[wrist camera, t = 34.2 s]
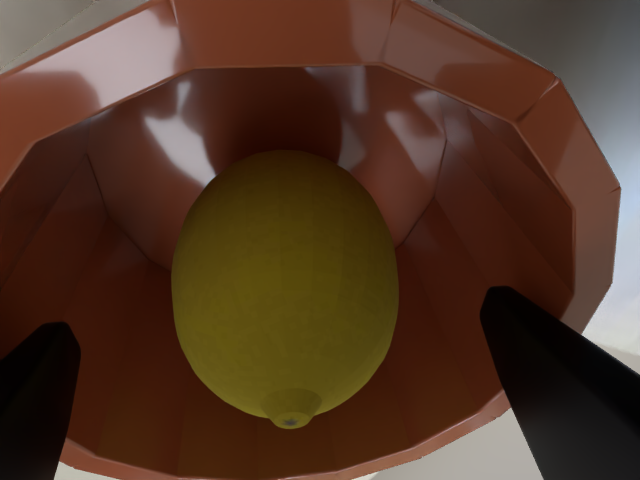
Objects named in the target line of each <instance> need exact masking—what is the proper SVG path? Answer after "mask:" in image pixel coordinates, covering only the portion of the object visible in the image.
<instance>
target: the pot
mask: <svg viewBox="0 0 640 480" xmlns="http://www.w3.org/2000/svg"><path fill="white" fill-rule="evenodd" d="M274 150H296V151H303V152H307V153H310V154H314V155H317V156H321V157H324V158H327V159H328V160H330V161H332V162H333V163H335V164H337V165H339V166H340V167H342V168H344V169H345V170H347V171H348V172H349V173H350V174H351V175H352V176H353V177H354V178H355V179H356V180H357V181H358V182H359V183H360V184H361V185H362V186H363V187H364V188H365V189H366V190H367V191H368V192H369V193H370V194H371V196H372V198H373V199H374V201H375V202H376V204H377V206H378V208H379V210H380V212H381V214H382V216H383V218H384V220H385V222H386V224H387V226H388V228H389V231H390V234H391V237H392V240H393V244H394V249H395V256H396V264H397V272H398V282H399V305H398V314H397V320H396V324H395V328H394V332H393V336H392V340H391V344H390V347H389V349H388V351H387V354H386V356H385V358H384V360H383V361H382V363H381V364H380V365H379V367H378V368H377V370H376V371H375V373H374V374H373V375H372V377H371V378H370V380H369V381H368V382H367V383H366V384H365V385H364V386H363V387H362V388H361V389H360V390H359V391H357V392H356V393H355V394H354V395H353V396H351V397H350V398H349V399H347V400H346V401H344V402H343V403H341V404H340V405H338V406H336V407H334V408H333V409H331V410H329V411H326V412H323V413H320V414H318V415H314V416H313V417H312V419H311V420H310V421H309V423H307V424H306V425H305V426H302V427H300V428H294V429H285V428H280V427H278V426H276V425H275V424H274V423H273V422H272V421H271V420H270V419H269V418H264V417H258V416H255V415H252V414H249V413H246V412H244V411H242V410H240V409H238V408H236V407H234V406H232V405H230V404H229V403H227V402H225V401H224V400H222V399H221V398H220V397H218V396H217V395H216V394H215V393H214V392H212V391H211V390H210V389H209V388H208V387H207V386H206V385H205V384H204V383H203V382H202V381H201V380H200V378H199V377H198V376H197V375H196V374H195V372H194V370H193V369H192V367H191V365H190V363H189V361H188V359H187V358H186V356H185V354H184V352H183V350H182V348H181V345H180V342H179V339H178V336H177V332H176V327H175V322H174V312H173V301H172V287H171V273H172V262H173V256H174V251H175V248H176V244H177V241H178V238H179V235H180V231H181V228H182V225H183V222H184V220H185V217H186V215H187V213H188V211H189V209H190V207H191V206H192V204H193V203H194V202H195V200H196V199H197V197H198V196H199V195H200V193H201V192H202V191H203V189H204V188H205V187H206V185H207V184H208V183H209V182H210V181H211V180H212V179H213V178H214V177H216V176H217V175H218V174H219V173H221V172H222V171H223V170H225V169H226V168H227V167H229V166H230V165H231V164H232V163H234V162H237V161H239V160H242V159H244V158H246V157H249V156H251V155H254V154H256V153H262V152H268V151H274ZM620 196H621V187H620V184H619V181H618V179H617V178H616V176H615V174H614V172H613V171H612V169H611V167H610V165H609V164H608V162H607V160H606V158H605V156H604V155H603V153H602V151H601V149H600V148H599V146H598V144H597V142H596V140H595V139H594V137H593V135H592V133H591V132H590V130H589V128H588V126H587V125H586V123H585V121H584V119H583V117H582V116H581V114H580V112H579V110H578V109H577V107H576V105H575V103H574V102H573V100H572V98H571V96H570V94H569V93H568V91H567V89H566V87H565V86H564V84H563V82H562V80H561V79H560V78H559V77H557V76H555V75H554V73H553V72H552V71H550V70H549V69H547V68H545V67H544V66H542V65H540V64H538V63H537V62H535V61H533V60H532V59H530V58H528V57H526V56H525V55H523V54H521V53H520V52H518V51H516V50H515V49H513V48H511V47H509V46H508V45H506V44H504V43H503V42H501V41H499V40H497V39H496V38H494V37H492V36H491V35H489V34H487V33H485V32H484V31H482V30H480V29H479V28H477V27H475V26H473V25H472V24H470V23H468V22H467V21H465V20H463V19H462V18H460V17H458V16H456V15H455V14H453V13H451V12H450V11H448V10H446V9H444V8H443V7H441V6H439V5H438V4H436V3H434V2H432V1H431V0H97V1H96V2H94V3H93V4H91V5H90V6H89V7H87V8H86V9H84V10H83V11H81V12H80V13H79V14H77V15H76V16H74V17H73V18H72V19H70V20H69V21H67V22H66V23H64V24H63V25H62V26H60V27H59V28H57V29H56V30H55V31H53V32H52V33H50V34H49V35H48V36H46V37H45V38H43V39H42V40H40V41H39V42H38V43H36V44H35V45H33V46H32V47H31V48H29V49H28V50H26V51H25V52H23V53H22V54H21V55H19V56H18V57H16V58H15V59H14V60H12V61H11V62H9V63H8V64H6V65H5V66H4V67H2V68H1V69H0V361H1V360H2V359H3V358H4V357H5V356H7V355H8V354H9V353H10V352H11V351H12V350H13V349H14V348H16V347H17V346H18V345H19V344H20V343H21V342H22V341H23V340H24V339H26V338H27V337H28V336H29V335H30V334H31V333H32V332H33V331H35V330H36V329H37V328H38V327H39V326H40V325H42V324H44V323H48V322H59V321H64V322H66V323H68V324H69V326H70V328H71V330H72V331H73V333H74V335H75V337H76V339H77V341H78V343H79V345H80V348H81V360H80V366H79V372H78V377H77V383H76V389H75V395H74V401H73V406H72V412H71V418H70V423H69V428H68V432H67V435H66V439H65V443H64V446H63V449H62V453H61V456H60V460H59V461H60V462H62V463H64V464H66V465H68V466H70V467H73V468H74V469H78V470H82V471H86V472H90V473H94V474H99V475H103V476H107V477H111V478H116V479H120V480H351V479H355V478H358V477H361V476H365V475H368V474H371V473H374V472H378V471H381V470H384V469H388V468H391V467H394V466H397V465H401V464H404V463H407V462H411V461H413V460H417V459H420V458H422V456H425V455H427V454H430V453H431V452H433V451H435V450H437V449H439V448H441V447H443V446H445V445H447V444H449V443H451V442H453V441H455V440H456V439H458V438H460V437H462V436H464V435H466V434H468V433H470V432H472V431H474V430H476V429H477V428H480V427H481V426H483V425H485V424H487V423H489V422H491V421H493V420H495V419H496V417H500V416H501V415H502V414H503V413H505V412H506V411H507V410H508V409H509V408H511V405H510V403H509V401H508V399H507V396H506V394H505V392H504V390H503V387H502V385H501V382H500V380H499V377H498V374H497V371H496V368H495V365H494V362H493V359H492V356H491V353H490V350H489V347H488V344H487V340H486V337H485V334H484V331H483V328H482V325H481V322H480V316H479V314H480V309H481V306H482V303H483V301H484V298H485V295H486V292H487V290H488V289H489V288H490V287H492V286H501V285H507V286H510V287H512V288H513V289H515V290H516V291H518V292H519V293H521V294H522V295H523V296H525V297H526V298H528V299H529V300H531V301H532V302H534V303H535V304H537V305H538V306H540V307H541V308H543V309H544V310H545V311H547V312H548V313H550V314H551V315H553V316H554V317H556V318H557V319H559V320H560V321H562V322H563V323H565V324H566V325H567V326H569V327H570V328H572V329H573V330H575V331H576V332H578V333H579V334H582V333H583V331H584V329H585V328H586V326H587V325H588V323H589V321H590V320H591V318H592V316H593V315H594V313H595V312H596V310H597V308H598V307H599V305H600V303H601V302H602V300H603V299H604V297H605V295H606V294H607V292H608V290H609V289H610V287H611V284H612V283H613V272H614V261H615V251H616V240H617V229H618V218H619V207H620Z"/></svg>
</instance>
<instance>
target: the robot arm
mask: <svg viewBox="0 0 640 480" xmlns="http://www.w3.org/2000/svg"><path fill="white" fill-rule="evenodd" d="M479 316H480V322H481V325H482V328H483V331H484V334H485V337H486V340H487V344H488V347H489V350H490V353H491V356H492V359H493V362H494V365H495V368H496V371H497V374H498V377H499V380H500V382H501V385H502V387H503V390H504V392H505V394H506V396H507V399H508V401H509V403H510V405H511V408H512V410H513V412H514V414H515V417H516V419H517V421H518V423H519V425H520V428H521V430H522V432H523V434H524V437H525V439H526V441H527V443H528V446H529V448H530V450H531V452H532V454H533V457H534V459H535V461H536V463H537V466H538V468H539V470H540V472H541V475H542V477H543V479H544V480H640V375H639V374H638V373H636V372H635V371H633V370H632V369H631V368H629V367H628V366H626V365H624V364H623V363H622V362H620V361H619V360H617V359H616V358H614V357H613V356H611V355H610V354H609V353H607V352H606V351H604V350H603V349H601V348H600V347H598V346H597V345H595V344H594V343H592V342H591V341H589V340H588V339H587V338H585V337H584V336H582V335H581V334H579V333H578V332H576V331H575V330H573V329H572V328H570V327H569V326H567V325H566V324H565V323H563V322H562V321H560V320H559V319H557V318H556V317H554V316H553V315H551V314H550V313H548V312H547V311H545V310H544V309H543V308H541V307H540V306H538V305H537V304H535V303H534V302H532V301H531V300H529V299H528V298H526V297H525V296H523V295H522V294H521V293H519V292H518V291H516V290H515V289H513V288H512V287H510V286H507V285H501V286H492V287H490V288H489V289H488V290H487V292H486V295H485V298H484V301H483V303H482V306H481V309H480V314H479ZM80 360H81V348H80V345H79V343H78V341H77V339H76V337H75V335H74V333H73V331H72V330H71V328H70V326H69V324H68V323H66V322H64V321H59V322H48V323H44V324H42V325H40V326H39V327H38V328H37V329H36V330H35V331H33V332H32V333H31V334H30V335H29V336H28V337H27V338H26V339H24V340H23V341H22V342H21V343H20V344H19V345H18V346H17V347H16V348H14V349H13V350H12V351H11V352H10V353H9V354H8V355H7V356H5V357H4V358H3V359H2V360H1V361H0V480H54V477H55V473H56V470H57V466H58V463H59V460H60V456H61V453H62V449H63V446H64V443H65V439H66V435H67V432H68V428H69V423H70V418H71V412H72V406H73V401H74V395H75V389H76V383H77V377H78V372H79V366H80Z"/></svg>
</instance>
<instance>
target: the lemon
mask: <svg viewBox="0 0 640 480" xmlns="http://www.w3.org/2000/svg"><path fill="white" fill-rule="evenodd" d="M171 287H172V301H173V312H174V322H175V327H176V332H177V336H178V339H179V342H180V345H181V348H182V350H183V352H184V354H185V356H186V358H187V359H188V361H189V363H190V365H191V367H192V369H193V370H194V372H195V374H196V375H197V376H198V377H199V378H200V380H201V381H202V382H203V383H204V384H205V385H206V386H207V387H208V388H209V389H210V390H211V391H212V392H214V393H215V394H216V395H217V396H218V397H220V398H221V399H222V400H224V401H225V402H227V403H229V404H230V405H232V406H234V407H236V408H238V409H240V410H242V411H244V412H246V413H249V414H252V415H255V416H258V417H264V418H269V419H270V420H271V421H272V422H273V423H274V424H275V425H276V426H278V427H280V428H285V429H294V428H300V427H302V426H305V425H306V424H307V423H309V421H310V420H311V419H312V417H313V416H314V415H318V414H320V413H323V412H326V411H329V410H331V409H333V408H334V407H336V406H338V405H340V404H341V403H343V402H344V401H346V400H347V399H349V398H350V397H351V396H353V395H354V394H355V393H356V392H357V391H359V390H360V389H361V388H362V387H363V386H364V385H365V384H366V383H367V382H368V381H369V380H370V378H371V377H372V375H373V374H374V373H375V371H376V370H377V368H378V367H379V365H380V364H381V363H382V361H383V360H384V358H385V356H386V354H387V351H388V349H389V347H390V344H391V340H392V336H393V332H394V328H395V324H396V320H397V314H398V305H399V282H398V272H397V264H396V256H395V249H394V244H393V240H392V237H391V234H390V231H389V228H388V226H387V224H386V222H385V220H384V218H383V216H382V214H381V212H380V210H379V208H378V206H377V204H376V202H375V201H374V199H373V198H372V196H371V194H370V193H369V192H368V191H367V190H366V189H365V188H364V187H363V186H362V185H361V184H360V183H359V182H358V181H357V180H356V179H355V178H354V177H353V176H352V175H351V174H350V173H349V172H348V171H347V170H345V169H344V168H342V167H340V166H339V165H337V164H335V163H333V162H332V161H330V160H328V159H327V158H324V157H321V156H317V155H314V154H310V153H307V152H303V151H296V150H274V151H268V152H262V153H256V154H254V155H251V156H249V157H246V158H244V159H242V160H239V161H237V162H234V163H232V164H231V165H230V166H229V167H227V168H226V169H225V170H223V171H222V172H221V173H219V174H218V175H217V176H216V177H214V178H213V179H212V180H211V181H210V182H209V183H208V184H207V185H206V187H205V188H204V189H203V191H202V192H201V193H200V195H199V196H198V197H197V199H196V200H195V202H194V203H193V204H192V206H191V207H190V209H189V211H188V213H187V215H186V217H185V220H184V222H183V225H182V228H181V231H180V235H179V238H178V241H177V244H176V248H175V251H174V256H173V262H172V273H171Z"/></svg>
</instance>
